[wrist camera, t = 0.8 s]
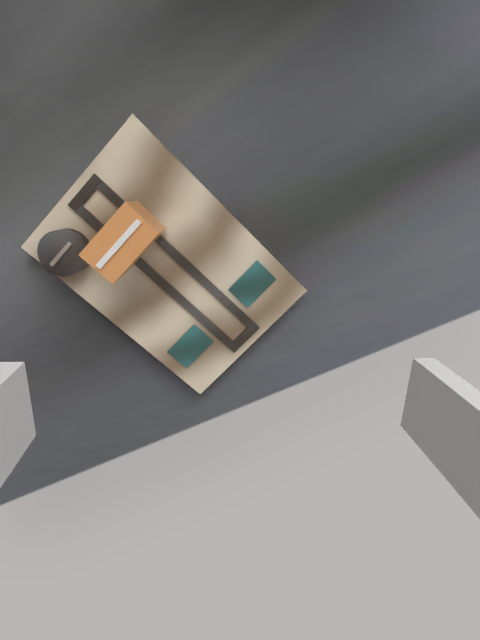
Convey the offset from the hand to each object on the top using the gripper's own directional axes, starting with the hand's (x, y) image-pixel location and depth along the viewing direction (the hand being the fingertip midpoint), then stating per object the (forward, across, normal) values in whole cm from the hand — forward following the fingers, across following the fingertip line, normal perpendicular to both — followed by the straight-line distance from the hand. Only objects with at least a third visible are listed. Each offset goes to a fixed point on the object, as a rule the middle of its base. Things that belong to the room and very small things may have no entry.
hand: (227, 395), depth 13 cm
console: (+24, -4, 0) cm, 24 cm away
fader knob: (+21, -7, +3) cm, 22 cm away
